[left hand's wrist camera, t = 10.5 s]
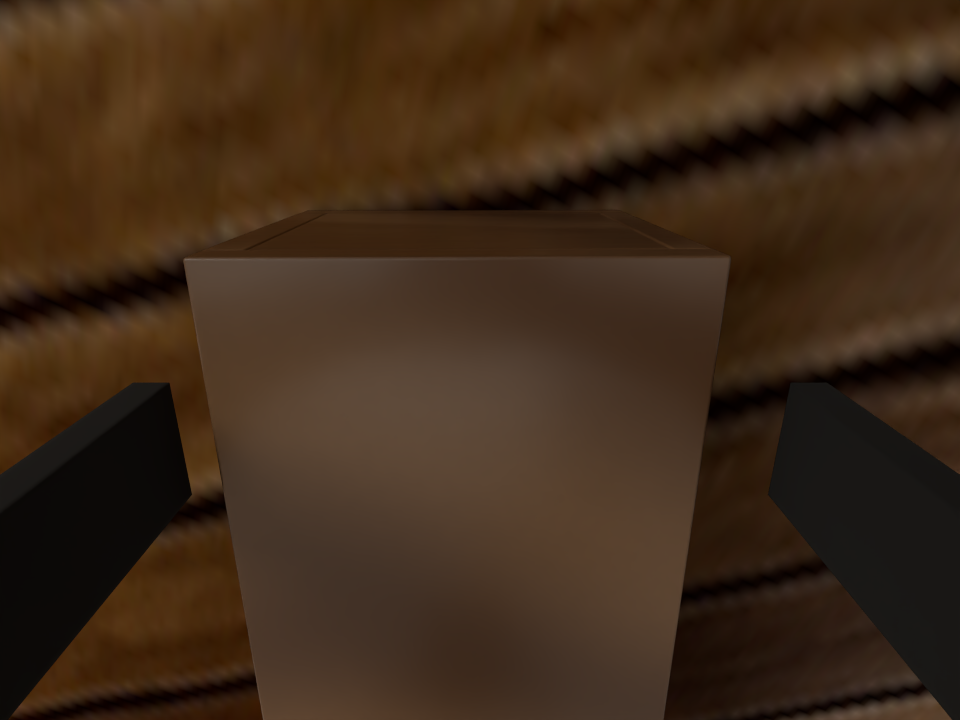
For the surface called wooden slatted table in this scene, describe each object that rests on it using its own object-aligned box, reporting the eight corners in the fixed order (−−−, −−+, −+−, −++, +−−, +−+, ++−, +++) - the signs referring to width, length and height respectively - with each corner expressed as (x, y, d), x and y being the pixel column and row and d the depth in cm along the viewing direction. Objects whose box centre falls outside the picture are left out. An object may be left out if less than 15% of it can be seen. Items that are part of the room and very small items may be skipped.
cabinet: (582, 689, 26) (632, 934, 18) (353, 693, 25) (300, 941, 17) (620, 209, 19) (733, 255, 11) (305, 210, 18) (181, 257, 10)
